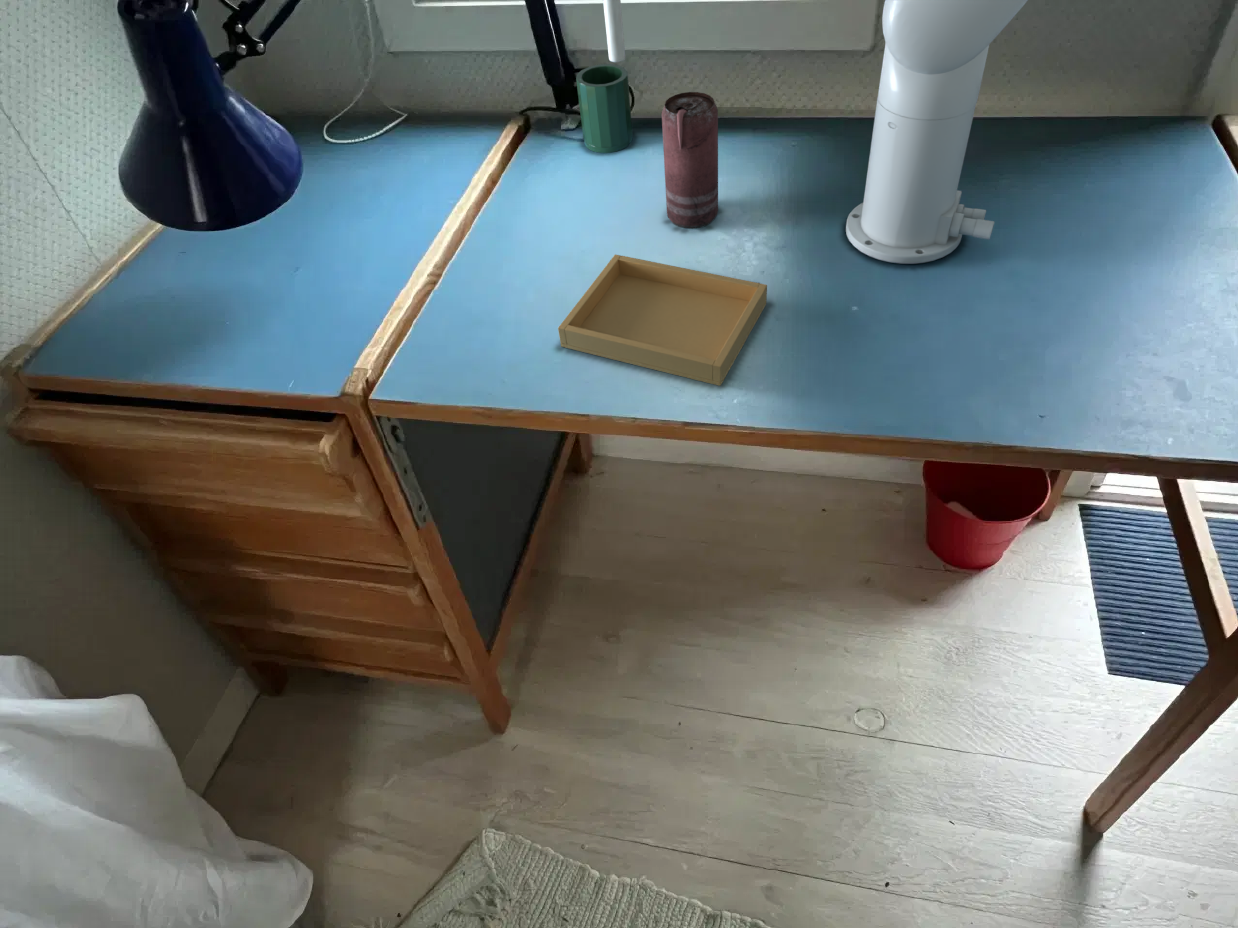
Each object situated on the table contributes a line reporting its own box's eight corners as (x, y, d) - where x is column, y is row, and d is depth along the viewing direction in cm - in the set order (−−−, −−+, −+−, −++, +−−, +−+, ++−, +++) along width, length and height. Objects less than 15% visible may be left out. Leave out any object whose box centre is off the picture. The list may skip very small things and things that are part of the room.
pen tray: (766, 304, 92) (767, 284, 90) (720, 386, 84) (720, 366, 83) (616, 272, 98) (614, 254, 97) (560, 346, 90) (557, 327, 89)
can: (662, 230, 103) (655, 116, 93) (672, 201, 107) (667, 88, 97) (713, 233, 102) (712, 117, 92) (721, 203, 106) (721, 90, 96)
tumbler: (640, 132, 120) (635, 67, 113) (619, 156, 116) (613, 89, 109) (597, 126, 122) (590, 61, 116) (576, 149, 118) (567, 83, 112)
